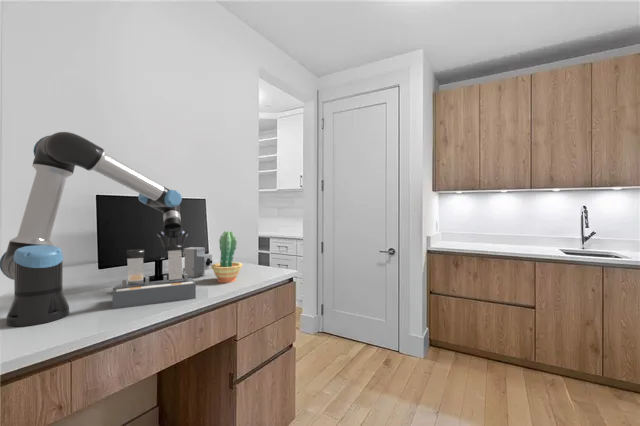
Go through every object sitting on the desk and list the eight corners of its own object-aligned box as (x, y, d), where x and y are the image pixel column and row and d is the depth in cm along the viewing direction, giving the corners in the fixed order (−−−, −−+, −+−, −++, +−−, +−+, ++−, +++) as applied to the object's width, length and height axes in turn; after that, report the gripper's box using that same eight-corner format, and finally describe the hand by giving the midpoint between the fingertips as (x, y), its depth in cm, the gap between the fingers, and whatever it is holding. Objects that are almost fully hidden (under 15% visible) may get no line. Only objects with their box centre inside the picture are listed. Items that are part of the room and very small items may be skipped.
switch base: (112, 308, 110) (112, 284, 110) (116, 300, 120) (116, 277, 120) (195, 298, 123) (195, 276, 123) (192, 291, 134) (192, 270, 134)
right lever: (168, 279, 122) (167, 244, 128) (167, 281, 125) (167, 246, 130) (183, 278, 125) (182, 243, 131) (182, 280, 128) (181, 245, 133)
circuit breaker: (207, 277, 160) (207, 249, 160) (183, 276, 163) (183, 248, 163) (214, 274, 167) (214, 247, 167) (191, 273, 170) (191, 247, 170)
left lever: (127, 287, 116) (126, 253, 110) (127, 282, 118) (126, 248, 112) (144, 285, 118) (143, 252, 113) (144, 280, 121) (144, 247, 115)
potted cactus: (247, 278, 160) (248, 230, 160) (232, 285, 145) (232, 232, 145) (221, 276, 164) (222, 230, 164) (204, 282, 149) (204, 232, 149)
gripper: (186, 227, 151) (190, 266, 137) (156, 227, 145) (157, 268, 131) (187, 216, 147) (191, 255, 132) (157, 216, 140) (157, 258, 126)
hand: (174, 262), depth 131 cm, fingers closed
